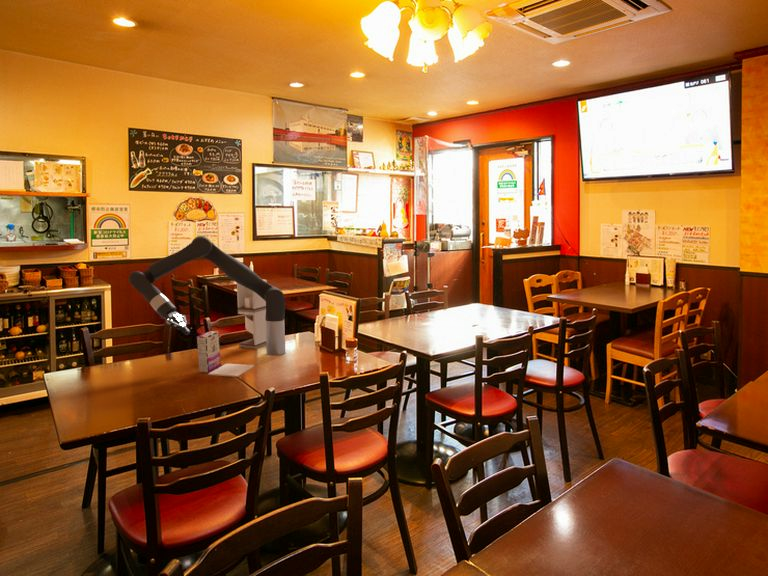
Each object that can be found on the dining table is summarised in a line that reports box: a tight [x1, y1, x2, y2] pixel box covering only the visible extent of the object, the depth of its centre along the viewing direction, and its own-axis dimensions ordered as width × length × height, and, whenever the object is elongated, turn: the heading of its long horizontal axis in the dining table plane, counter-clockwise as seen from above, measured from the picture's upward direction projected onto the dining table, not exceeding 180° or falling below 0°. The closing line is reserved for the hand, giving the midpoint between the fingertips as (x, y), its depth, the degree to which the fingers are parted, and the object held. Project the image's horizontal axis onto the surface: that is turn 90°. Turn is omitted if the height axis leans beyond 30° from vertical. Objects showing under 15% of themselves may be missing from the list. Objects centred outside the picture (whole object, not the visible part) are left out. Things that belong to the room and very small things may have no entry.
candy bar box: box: [196, 330, 222, 373], centre depth 240 cm, size 11×5×16 cm, turn 168°
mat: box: [208, 363, 255, 378], centre depth 239 cm, size 16×14×1 cm
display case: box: [236, 279, 268, 350], centre depth 282 cm, size 11×11×35 cm
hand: (188, 333), depth 241 cm, fingers closed
